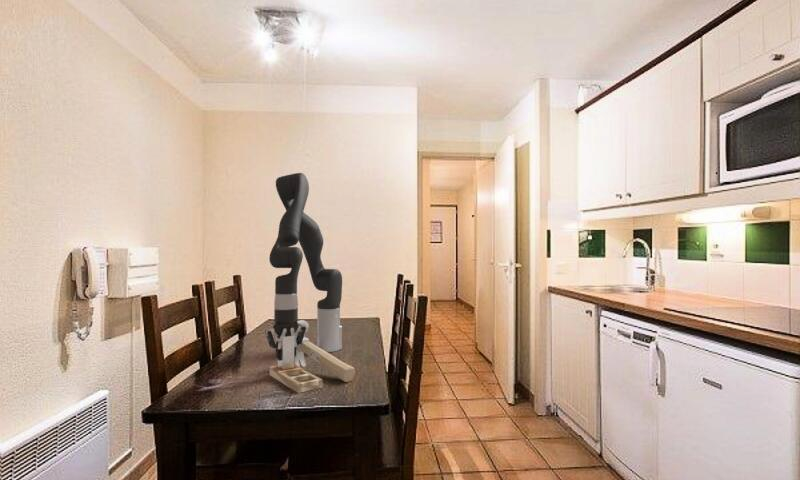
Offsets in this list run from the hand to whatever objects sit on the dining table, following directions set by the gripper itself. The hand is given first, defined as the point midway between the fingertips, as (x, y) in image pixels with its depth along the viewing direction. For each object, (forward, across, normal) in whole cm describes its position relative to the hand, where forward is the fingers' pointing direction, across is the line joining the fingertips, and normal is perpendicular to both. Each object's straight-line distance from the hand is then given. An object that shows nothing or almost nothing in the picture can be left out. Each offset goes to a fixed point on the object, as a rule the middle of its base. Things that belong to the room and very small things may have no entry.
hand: (285, 358), depth 149 cm
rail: (+6, 0, +7) cm, 9 cm away
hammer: (+6, -11, +4) cm, 13 cm away
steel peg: (+4, 0, 0) cm, 4 cm away
